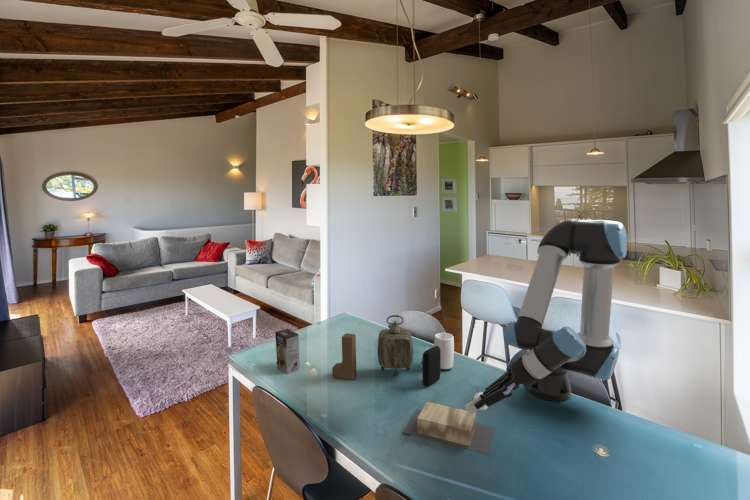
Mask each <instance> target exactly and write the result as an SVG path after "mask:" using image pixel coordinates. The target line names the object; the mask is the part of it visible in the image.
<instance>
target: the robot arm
mask: <svg viewBox="0 0 750 500" xmlns="http://www.w3.org/2000/svg"><path fill="white" fill-rule="evenodd" d="M627 248H628V238H627V232H626V228H625V226H624V224H623V223H622V222H619V221H615V220H608V219H607V220H605V219H597V220H596V219H575V218H574V219H572V218H571V219H566V220H563V221H562V222H559V223H557V224H555V225H554V226H553V227H551V228H550V229H549V230H548V231H547V232H546V234H545V235H544V236H543V237H542V238H541V241H539V244H538V247H537V250H536V253H537V255H538V257H537V260H536V263H535V266H534V267H533V268H534V269H533V271H532V275H531V278H530V281H529V283H528V287H527V289H526V293H525V295H524V298H523V302H522V305H521V308H520V310H519V313H518V316H517V320H516V321H509V322H508V323H507V324H506V326H505V328H504V331H503V337H504V338H503V340H504V342H505V343H506V345H508V346H510V347H514V348H516V349H519V350H525V351H526V353H525V354H523V355H522V357H521V356H520V357H518V358H517V359H515V360H514V361H513V362H511V363H510V368H509V369H507V370H506V371H505V372H504V373H503V374H501V376H500V377H498V378H497V379H495V381H493V382H492V383H491V384H489V385H488V386H487V387H485V389H484V391H482V392H483V395H482V394H480V395H479V396H478V397H477V398H476V399H474V398H473V399H472V401H470V402H468V403H467V404H465V406H464V409H465V410H466V411H468V412H469V413H470V414H471V415H472V414H473V413H477V412H478V411H479V410H480V409H481V408H482V407H484V406H485V405H487V408H490V407H491V406H493V405H495V404H497V403H499V402H500V401H502V400H504V399H506V398H509V397H512V396H513V393H512V391H516V390H517V389H518V388H520V387H519V386H520V385H523V386H524V387H526V389H527V390H528V392H529V393H531V395H534V396H536V397H538V398H540V399H543V400H547V401H555V402H558V401H559V402H561V401H565V400H569V399H570V398H571V397H572V387H571V383H570V380H569V377H568V371H569V372H573V373H576V374H579V375H583V376H586V377H590V378H593V379H598V380H602V381H608V380H609V379H611V377H612V375H613V374H614V371H615V368H616V366H617V362H618V359H619V358H618V357H619V353H620V352H619V350H620V349H619V347H616V346H615V345H614V344H615V343H614V339H612V337H610V324H611V313H612V312H611V310H612V297H613V296H612V295H613V284H614V273H615V272H614V269H615V267H617V266H618V265H619V264H620V263H621V260H622V259H624V258H626V257H627V252H628V251H627V250H628V249H627ZM570 254H573V255H578V256H579V258H578V260H579V262H580V263H581V264H582V265H583V273H582V274H583V276H582V294H581V295H582V296H581V310H580V311H581V313H580V326H579V327H580V330H579V332H576V331H575V330H574V329H572V328H571V327H570V326H567V325H566V326H563V327H561V328H547V329H546V328H543V325H544V321H545V319H546V315H547V312H548V310H549V309H548V308H549V306H550V302H551V299H552V296H553V292H554V290H555V286H556V283H557V279H558V276H559V273H560V270H561V267H562V264H563V262H565V261H567V259H568V256H569V255H570ZM489 406H490V407H489Z"/></svg>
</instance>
